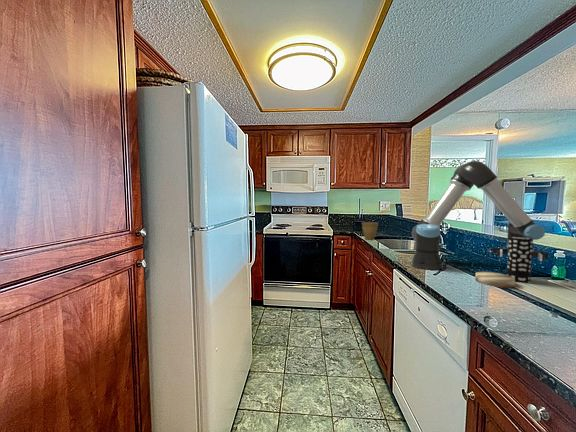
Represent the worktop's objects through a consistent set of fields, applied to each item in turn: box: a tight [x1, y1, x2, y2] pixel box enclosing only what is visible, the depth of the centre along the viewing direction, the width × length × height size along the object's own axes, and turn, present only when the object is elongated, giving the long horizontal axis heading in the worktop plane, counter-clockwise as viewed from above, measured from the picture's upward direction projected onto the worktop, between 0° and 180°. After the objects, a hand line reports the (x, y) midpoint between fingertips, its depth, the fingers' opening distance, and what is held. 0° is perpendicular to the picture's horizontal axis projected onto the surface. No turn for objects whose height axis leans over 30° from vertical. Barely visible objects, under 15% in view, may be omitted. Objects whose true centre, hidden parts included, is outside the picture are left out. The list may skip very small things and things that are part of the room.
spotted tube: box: [506, 237, 534, 284], centre depth 120 cm, size 8×8×20 cm
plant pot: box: [361, 221, 379, 241], centre depth 242 cm, size 15×15×16 cm
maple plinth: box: [474, 271, 516, 289], centre depth 117 cm, size 14×14×3 cm
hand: (520, 256), depth 118 cm, fingers open, 13 cm apart
